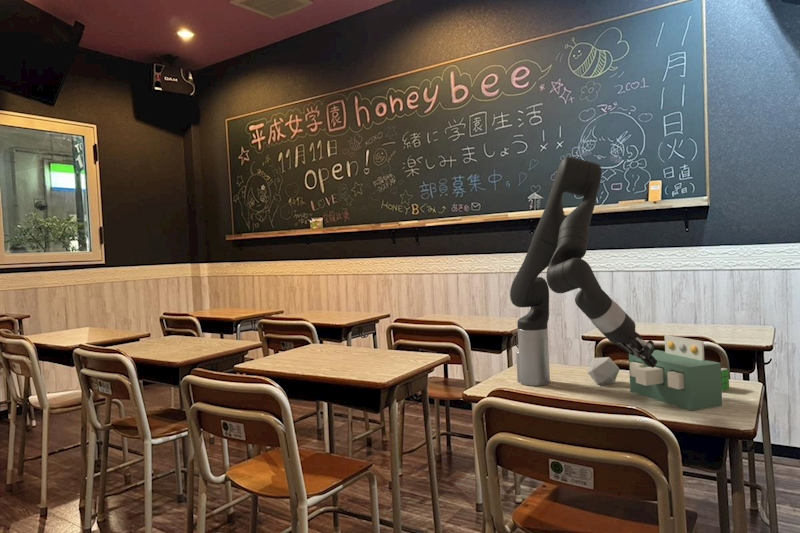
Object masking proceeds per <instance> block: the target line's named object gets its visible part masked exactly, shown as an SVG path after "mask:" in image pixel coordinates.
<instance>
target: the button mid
mask: <svg viewBox="0 0 800 533" xmlns="http://www.w3.org/2000/svg"><path fill="white" fill-rule="evenodd" d="M635 373H636V383H639V384H642V385H645V386H647V385H654V384H661V383H664V369H663V368H659V367H655V366H654V367H653V368H652V367H644V368H636V369H635Z"/></svg>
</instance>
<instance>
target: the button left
mask: <svg viewBox="0 0 800 533" xmlns="http://www.w3.org/2000/svg"><path fill="white" fill-rule="evenodd" d="M644 367H645V363H642V362H630V373H629V377H630V376H633V377H636V373H635V369H636V368H644Z"/></svg>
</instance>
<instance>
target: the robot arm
mask: <svg viewBox="0 0 800 533" xmlns="http://www.w3.org/2000/svg"><path fill="white" fill-rule="evenodd" d="M602 171H603V170H602V167H601V165H600V164H598V163H596V162H594V161H589V160H586V159H585V160H584V159H581V158H576V157H571V156H565V157H564V158H563V159H562V161H561V162H560V164H559V166H558V167H557V171H556V174H555V177H554V180H553V184H552V186H551V189H550V194H549V196H548V198H547V202H546V205H545V207H544V210H543V212H542V215H541V218H540V219H539V222H538V224H537V226H536V228H535V230H534V233H533V235H532V239H531V243H530V246H529V247H528V250H527V252H526V254H525V258H523V259H524V260H523V261H522V264H521V265H520V267H519V270H518V271H517V273H516V275H515V277H514V278H513V280H512V282H511V286H510V290H509V297H510V301H511V303H512V305H513V306H514V307H517V308H530V310H529V311H528V312H527V314H525V315H524V316H522V317H520V318H519V319H517V323H516V324H517V341H518V342H517V343H518V351H517V352H515V353H516V355H515V357H516V375H517V376H516V377H517V378H516V379H517V382H518V383H520V384H521V385H525V386H531V387H532V386H535V387H536V386H545V385H549V384H550V383H551V378H550V353H549V352H550V351H549V332H548V331H549V330H548V323H549V319H550V290H551V291H552V292H554V293H556V294H565V293H568V292H571V291H574V290H577V289H579V291H578V292H577V293H576V295H575V298H574V302H575V305H576V306H577V307H578V309H580V311H581V312H583V314H584V315H585V316H586V317H587V318H588V319H589V320H590V321H591V323H592V324H593V326H595V328H596V329H598V331H599V332H600V333H601V334H603V336H604V337H605V338H606V339H607V340H608V341H609V342H610V343H612V344H613V345H616V346H617V347H619V348H620V349H621V350H624V351H625V352H627V353H628V355H629V354H631V355H635V356H636V357H638V358H641V360H642V361H643V362H644V363H645V364H646V365H647V366H649V367H652V368H653V367H654V366H655V365H656V364H657V360H656V359H655V358H654V357H653V356H652V353H653V352H654V350H655V347H654V346H655V345H654V344H655V342H654V341H653V340H652V339H651V340H650V339H649V340H648V341H645V340H644V339H643V337H642V336H641V335H640V333H638V332H637V331H636V323H635V321H634V320H633V318H632V317H630V316H629V315H628V313H626V311H624V309H623V308H622V307H621V306H620V305H619V304H618V303H617V302H616V301H614V300H613V299H612V298H611V297H610V296H609V294H607V293H606V292H605V291H604V290H603V289H602V287H601V285H600V284H599V281H598V280H597V277H596V276H595V273H594V271H593V269H592V267H591V265H590V264H589V263H588V262H587V261H586V260H585V259H583V257H584V256H585V255H586V254H587V249H588V242H589V241H588V240H589V230H590V224H591V220H592V216H593V213H594V209H595V206H596V202H597V198H598V193H599V190H600V185H601V180H602ZM565 193H567V194H572V195H575V196H576V195H577V196H580V197H583V199H582V201H581V202H580V203H579V205H578V206H577V207H575V209H573V210H572V211H571V212H570V213H569V214H568V215H566V214H565V211H564V208H563V207H564V206H563V195H564V194H565ZM545 269H547V270H546V275H545V277H546V279H545V278H544V277H542V276H539V275H540V274H542V272H543V271H544V270H545ZM549 289H550V290H549Z"/></svg>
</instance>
